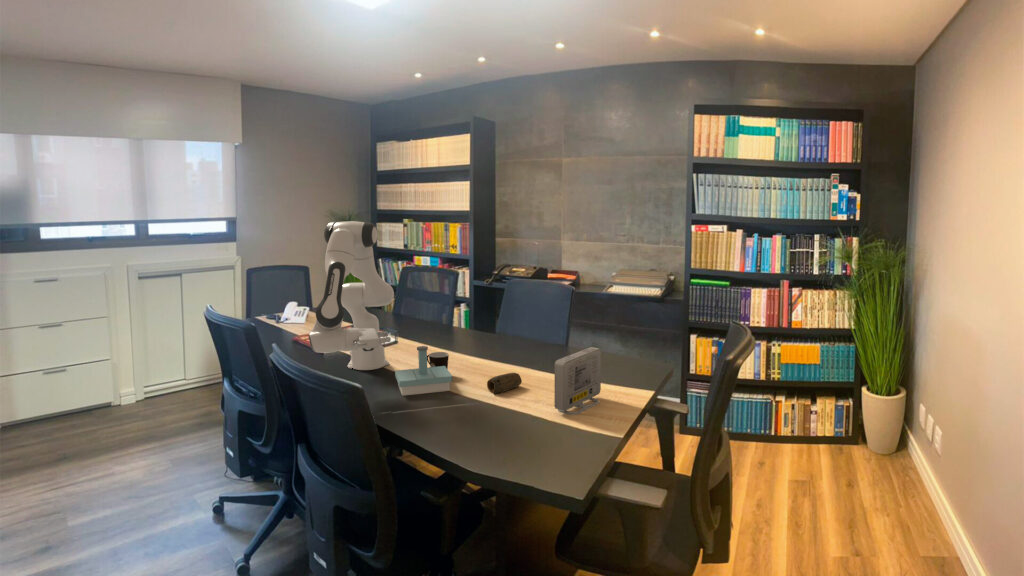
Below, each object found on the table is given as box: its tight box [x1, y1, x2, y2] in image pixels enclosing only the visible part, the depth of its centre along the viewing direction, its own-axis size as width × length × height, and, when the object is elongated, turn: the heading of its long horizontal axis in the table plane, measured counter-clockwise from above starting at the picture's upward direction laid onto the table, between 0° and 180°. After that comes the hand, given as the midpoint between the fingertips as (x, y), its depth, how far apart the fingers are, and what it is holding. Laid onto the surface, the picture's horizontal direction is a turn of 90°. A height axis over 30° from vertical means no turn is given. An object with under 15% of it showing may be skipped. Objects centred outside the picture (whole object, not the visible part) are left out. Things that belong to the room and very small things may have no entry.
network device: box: [553, 346, 602, 416], centre depth 227 cm, size 26×9×20 cm, turn 141°
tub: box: [397, 382, 451, 397], centre depth 248 cm, size 13×19×6 cm
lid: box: [394, 345, 454, 388], centre depth 247 cm, size 15×21×13 cm
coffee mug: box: [427, 351, 450, 370], centre depth 265 cm, size 12×9×10 cm
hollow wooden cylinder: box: [486, 372, 523, 394], centre depth 247 cm, size 15×7×7 cm, turn 138°
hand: (389, 336), depth 241 cm, fingers open, 8 cm apart
